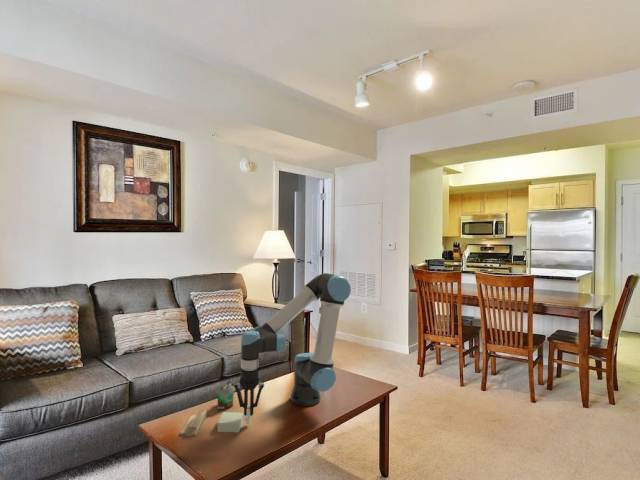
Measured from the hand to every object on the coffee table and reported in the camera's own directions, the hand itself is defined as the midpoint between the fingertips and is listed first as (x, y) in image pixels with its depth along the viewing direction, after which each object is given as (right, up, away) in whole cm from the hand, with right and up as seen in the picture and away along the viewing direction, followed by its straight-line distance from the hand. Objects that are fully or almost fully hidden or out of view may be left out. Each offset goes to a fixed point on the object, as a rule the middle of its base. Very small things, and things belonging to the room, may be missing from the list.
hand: (248, 422), depth 165 cm
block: (-8, -2, 0) cm, 8 cm away
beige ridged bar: (-23, -1, -1) cm, 23 cm away
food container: (-13, -1, +19) cm, 23 cm away
